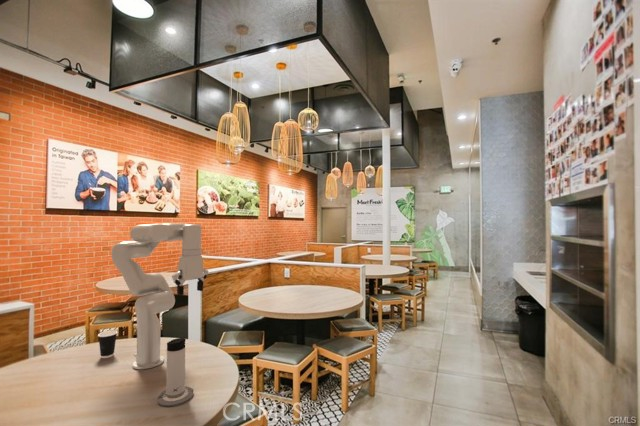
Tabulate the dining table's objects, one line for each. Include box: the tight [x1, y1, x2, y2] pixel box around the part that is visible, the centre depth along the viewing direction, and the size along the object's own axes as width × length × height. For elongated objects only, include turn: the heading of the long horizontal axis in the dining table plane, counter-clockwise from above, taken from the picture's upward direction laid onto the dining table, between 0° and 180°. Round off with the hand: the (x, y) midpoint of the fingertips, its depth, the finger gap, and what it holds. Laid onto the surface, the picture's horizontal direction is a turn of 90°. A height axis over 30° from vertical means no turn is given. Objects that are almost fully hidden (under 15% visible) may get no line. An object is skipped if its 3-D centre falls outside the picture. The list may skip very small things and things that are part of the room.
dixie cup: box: [97, 330, 118, 359], centre depth 151 cm, size 8×8×11 cm
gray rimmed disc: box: [157, 385, 194, 408], centre depth 114 cm, size 12×12×1 cm
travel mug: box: [165, 337, 187, 398], centre depth 115 cm, size 6×7×20 cm
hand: (190, 292), depth 133 cm, fingers open, 9 cm apart
